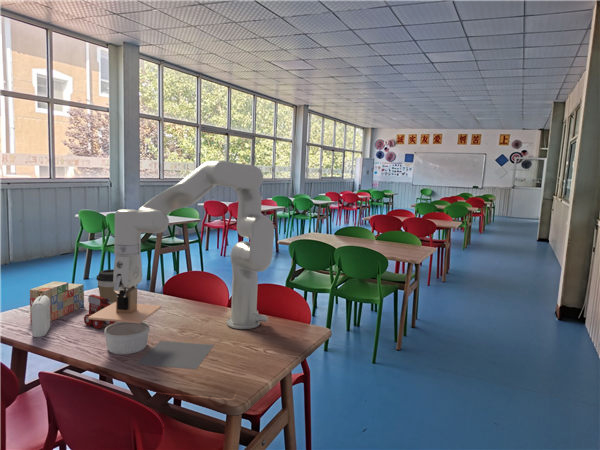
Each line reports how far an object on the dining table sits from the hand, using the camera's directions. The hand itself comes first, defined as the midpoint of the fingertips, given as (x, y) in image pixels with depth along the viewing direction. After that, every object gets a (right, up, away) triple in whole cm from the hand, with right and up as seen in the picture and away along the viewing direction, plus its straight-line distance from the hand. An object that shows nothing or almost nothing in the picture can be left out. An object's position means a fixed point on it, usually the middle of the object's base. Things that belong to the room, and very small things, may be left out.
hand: (126, 306), depth 134 cm
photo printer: (-34, -11, +11) cm, 37 cm away
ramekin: (-1, -14, +2) cm, 14 cm away
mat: (+16, -15, -2) cm, 22 cm away
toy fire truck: (-18, -11, +21) cm, 30 cm away
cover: (0, -2, 0) cm, 2 cm away
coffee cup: (-23, -8, +40) cm, 47 cm away
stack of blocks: (-39, -9, +30) cm, 50 cm away
